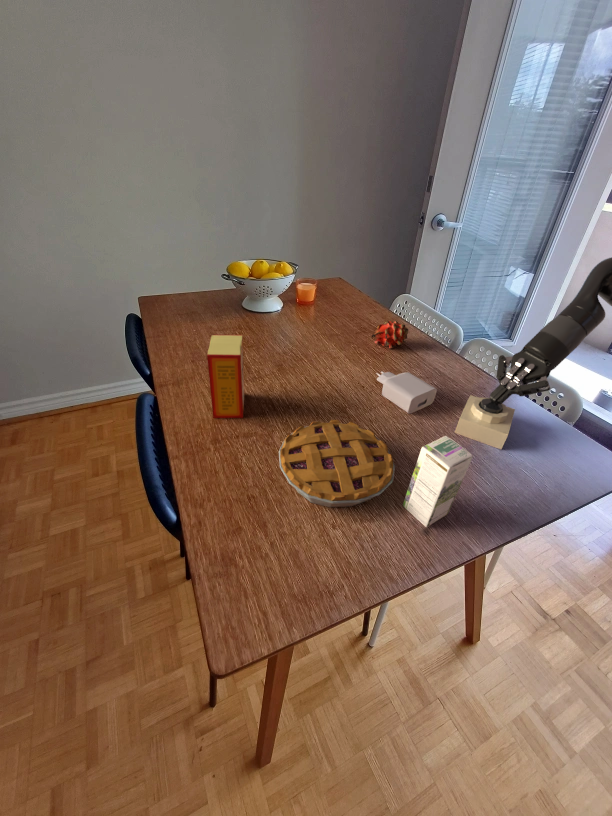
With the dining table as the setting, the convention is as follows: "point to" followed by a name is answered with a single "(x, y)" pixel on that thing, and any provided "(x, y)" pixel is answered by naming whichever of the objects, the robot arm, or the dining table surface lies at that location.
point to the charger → (406, 391)
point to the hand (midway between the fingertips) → (492, 401)
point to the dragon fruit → (390, 334)
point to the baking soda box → (226, 375)
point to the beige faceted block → (485, 423)
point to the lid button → (490, 406)
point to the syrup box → (436, 480)
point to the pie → (336, 463)
